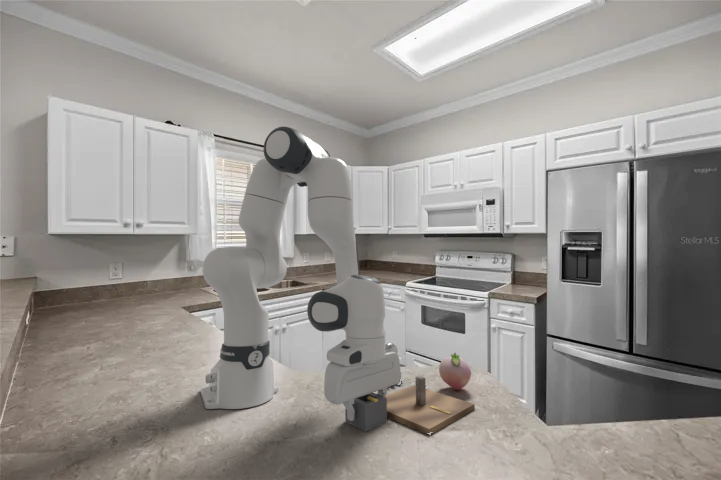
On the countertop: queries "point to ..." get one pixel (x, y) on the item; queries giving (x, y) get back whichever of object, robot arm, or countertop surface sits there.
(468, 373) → the decorative fruit
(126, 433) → the countertop surface
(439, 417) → the brown square board
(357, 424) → the square tunnel box
